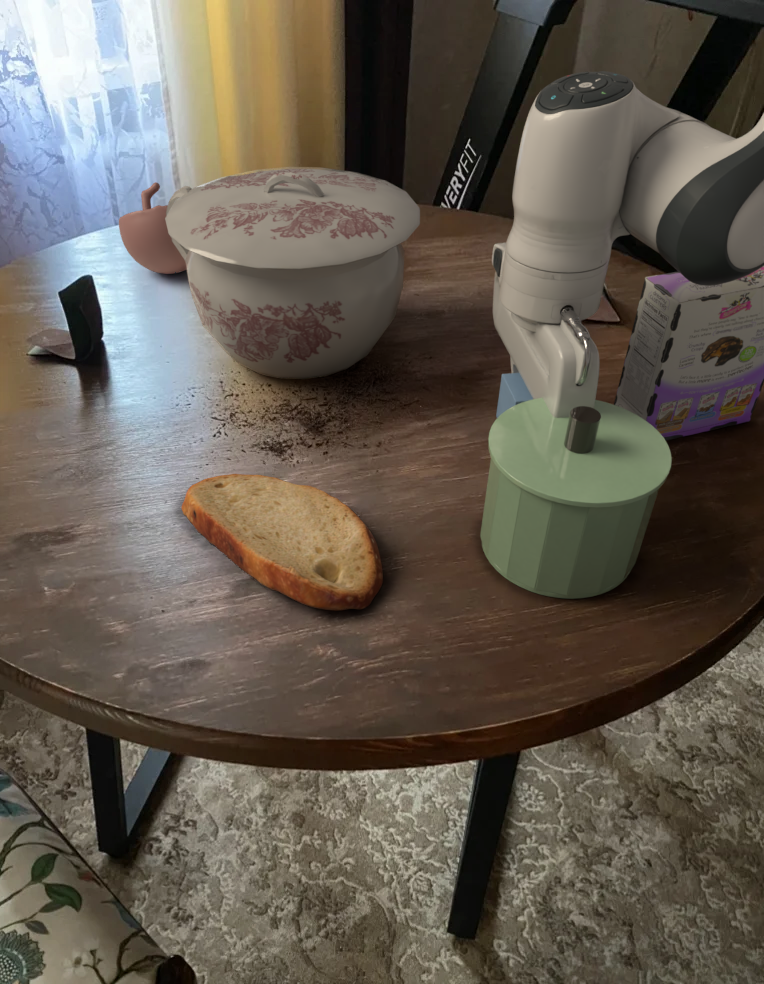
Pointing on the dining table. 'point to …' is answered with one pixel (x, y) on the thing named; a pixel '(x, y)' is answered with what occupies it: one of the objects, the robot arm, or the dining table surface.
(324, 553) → the bread slice
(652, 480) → the pot lid
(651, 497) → the pot
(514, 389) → the block
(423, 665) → the dining table surface
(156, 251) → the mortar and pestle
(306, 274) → the chamber pot
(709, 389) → the candy box
